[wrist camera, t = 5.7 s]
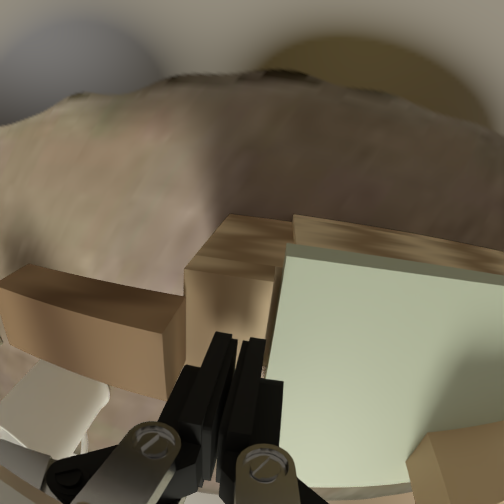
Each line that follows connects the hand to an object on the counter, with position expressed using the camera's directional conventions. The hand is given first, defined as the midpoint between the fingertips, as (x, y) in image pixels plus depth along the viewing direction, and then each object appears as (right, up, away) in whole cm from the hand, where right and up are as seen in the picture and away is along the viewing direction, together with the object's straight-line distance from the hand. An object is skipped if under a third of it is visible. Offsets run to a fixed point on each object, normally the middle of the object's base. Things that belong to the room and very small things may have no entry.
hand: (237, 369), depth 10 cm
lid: (+12, -4, +4) cm, 14 cm away
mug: (-18, -11, +18) cm, 28 cm away
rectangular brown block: (-6, +1, +2) cm, 7 cm away
